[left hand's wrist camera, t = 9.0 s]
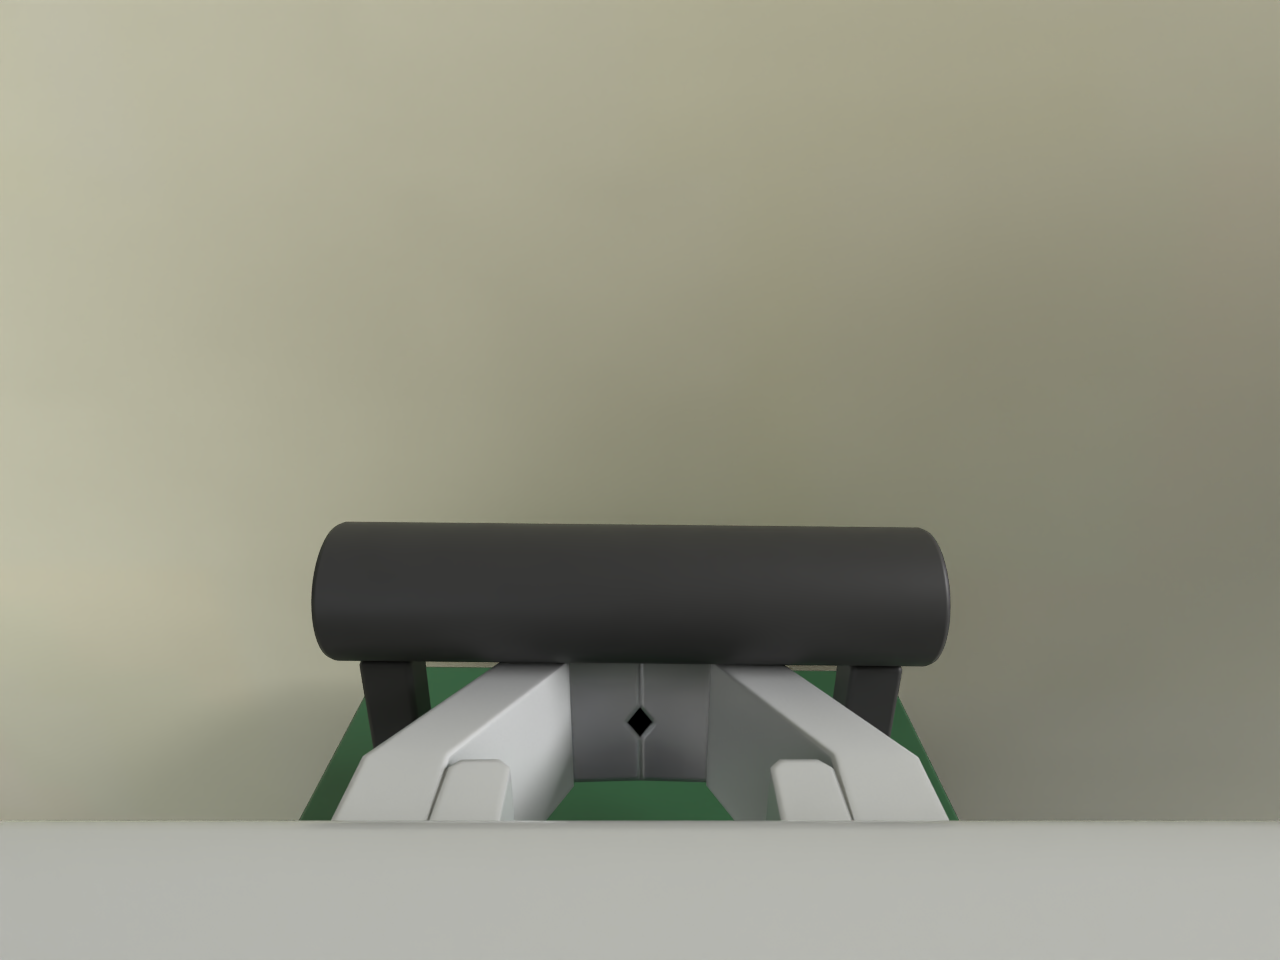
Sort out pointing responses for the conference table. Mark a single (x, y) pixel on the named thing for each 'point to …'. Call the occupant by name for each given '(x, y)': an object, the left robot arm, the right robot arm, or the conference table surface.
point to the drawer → (623, 622)
